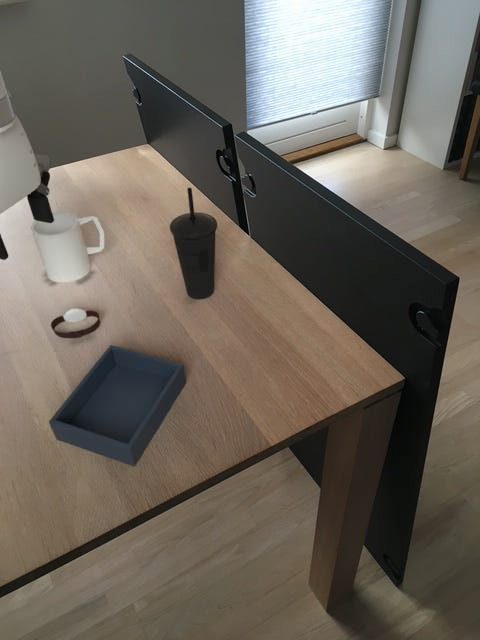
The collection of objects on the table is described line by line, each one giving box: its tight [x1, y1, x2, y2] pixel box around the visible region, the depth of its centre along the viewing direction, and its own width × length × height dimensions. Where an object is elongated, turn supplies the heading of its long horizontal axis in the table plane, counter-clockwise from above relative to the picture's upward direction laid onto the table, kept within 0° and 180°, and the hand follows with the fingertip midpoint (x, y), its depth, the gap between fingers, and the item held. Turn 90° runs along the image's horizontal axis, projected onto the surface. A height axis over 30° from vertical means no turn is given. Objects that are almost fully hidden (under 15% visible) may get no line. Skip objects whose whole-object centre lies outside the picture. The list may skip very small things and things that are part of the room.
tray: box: [48, 344, 187, 467], centre depth 75 cm, size 15×12×4 cm
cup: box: [30, 211, 105, 284], centre depth 99 cm, size 8×12×10 cm
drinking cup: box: [169, 187, 218, 300], centre depth 89 cm, size 8×8×20 cm
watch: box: [50, 307, 101, 339], centre depth 88 cm, size 8×5×4 cm, turn 106°
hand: (22, 238), depth 74 cm, fingers open, 9 cm apart
